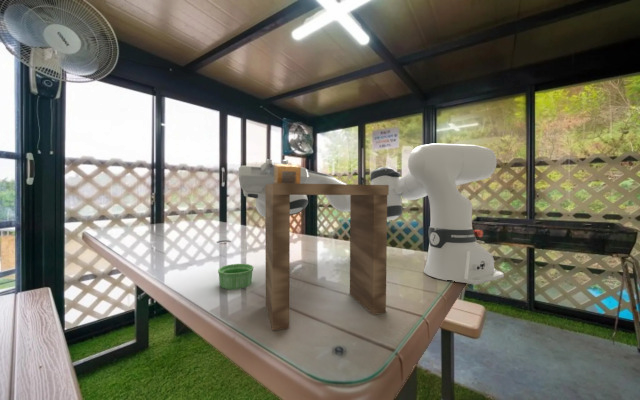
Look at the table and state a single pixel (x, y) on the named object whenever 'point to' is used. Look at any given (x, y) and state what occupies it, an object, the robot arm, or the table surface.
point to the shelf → (364, 244)
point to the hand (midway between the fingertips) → (277, 161)
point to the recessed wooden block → (285, 173)
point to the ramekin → (235, 276)
